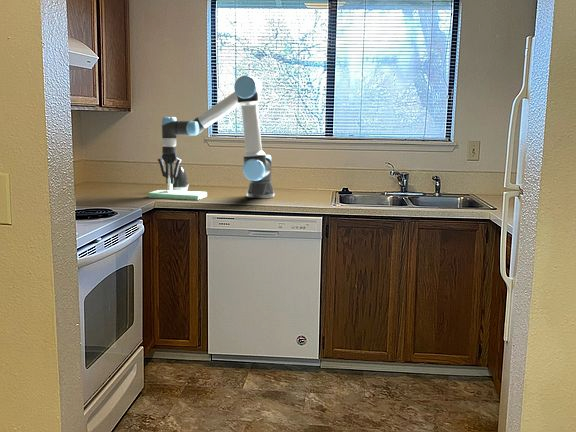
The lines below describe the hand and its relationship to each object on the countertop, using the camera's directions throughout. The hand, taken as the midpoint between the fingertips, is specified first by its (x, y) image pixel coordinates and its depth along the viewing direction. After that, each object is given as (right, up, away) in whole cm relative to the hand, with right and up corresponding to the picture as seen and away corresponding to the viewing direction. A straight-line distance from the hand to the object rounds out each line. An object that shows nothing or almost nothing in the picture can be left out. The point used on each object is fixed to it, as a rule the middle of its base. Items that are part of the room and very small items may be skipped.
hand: (170, 189), depth 320 cm
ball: (-2, -2, +1) cm, 3 cm away
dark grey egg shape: (+2, -1, +17) cm, 18 cm away
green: (+4, -4, 0) cm, 6 cm away
